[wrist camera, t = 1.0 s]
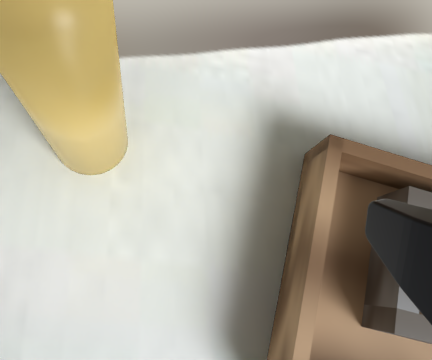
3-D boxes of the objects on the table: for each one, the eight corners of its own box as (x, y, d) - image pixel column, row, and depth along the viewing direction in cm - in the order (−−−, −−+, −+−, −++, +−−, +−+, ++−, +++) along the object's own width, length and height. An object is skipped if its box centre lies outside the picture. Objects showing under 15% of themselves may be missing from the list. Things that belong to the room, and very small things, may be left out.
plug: (115, 183, 22) (80, 59, 10) (44, 163, 22) (-89, 7, 9) (136, 120, 23) (128, -64, 11) (68, 100, 23) (-21, -116, 10)
